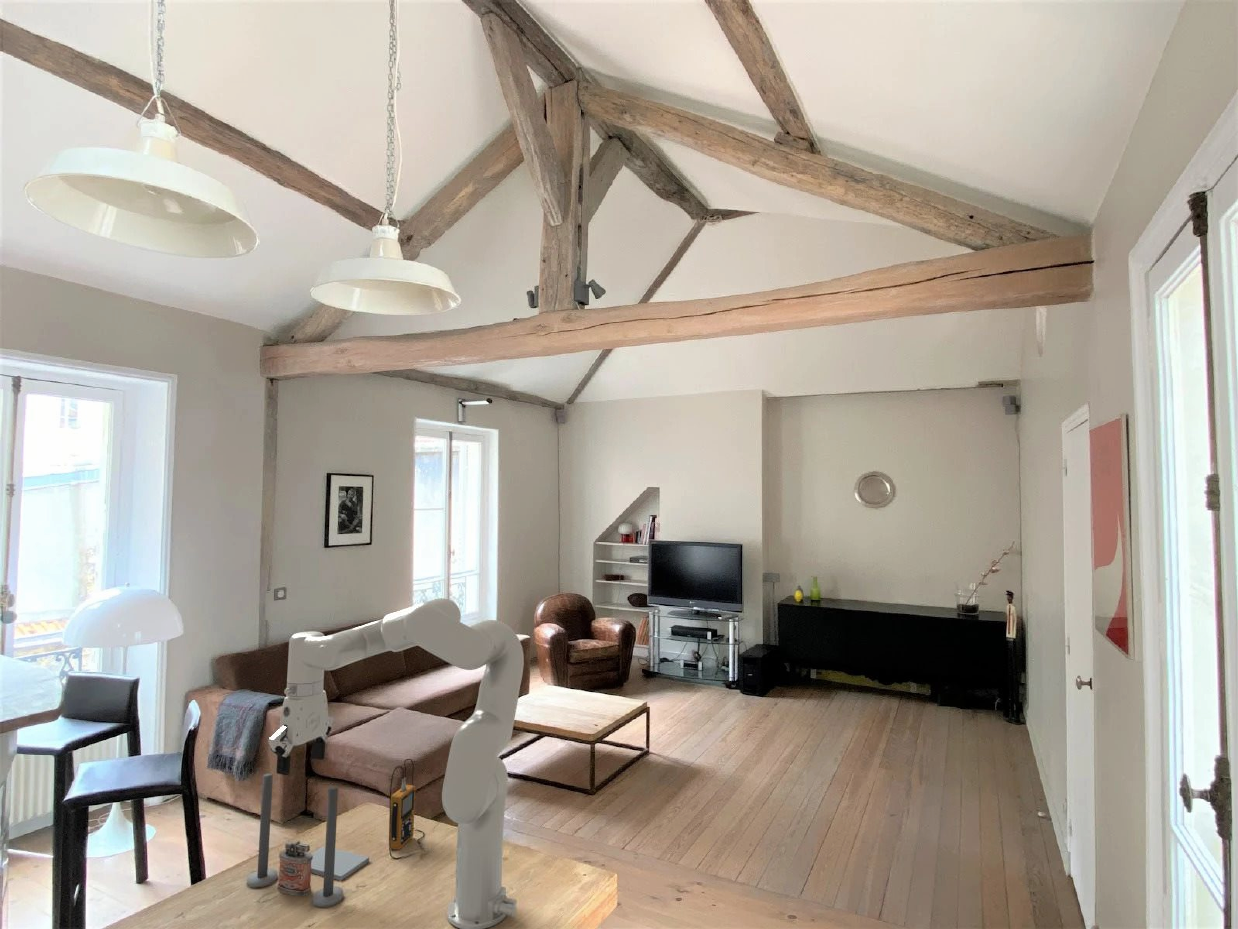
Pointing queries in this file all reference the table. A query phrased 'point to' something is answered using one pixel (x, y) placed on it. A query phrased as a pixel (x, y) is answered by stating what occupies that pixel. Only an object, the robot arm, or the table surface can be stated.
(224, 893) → the table surface
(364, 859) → the mat
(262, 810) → the far cord post
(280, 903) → the table surface
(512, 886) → the table surface
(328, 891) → the post
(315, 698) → the robot arm
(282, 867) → the lighter
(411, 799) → the multimeter
